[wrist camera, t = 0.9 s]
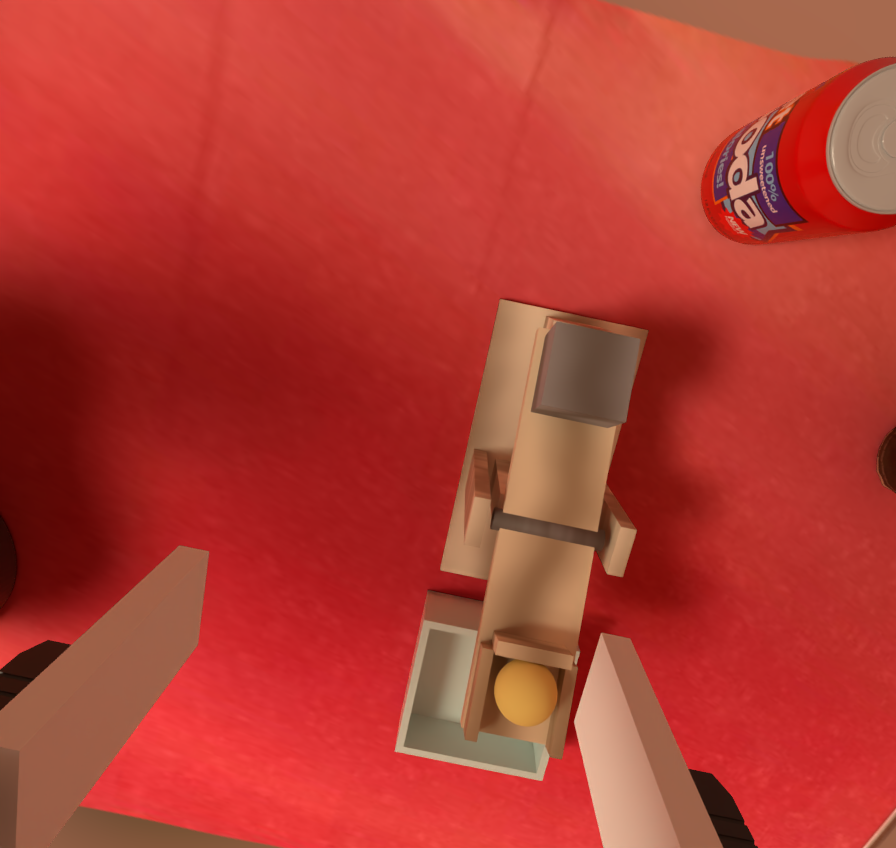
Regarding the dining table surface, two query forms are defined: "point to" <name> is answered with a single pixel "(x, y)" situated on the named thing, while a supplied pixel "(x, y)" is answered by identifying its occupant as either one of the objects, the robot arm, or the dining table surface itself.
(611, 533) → the catapult base
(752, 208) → the soda can
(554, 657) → the lever
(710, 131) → the dining table surface
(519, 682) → the ball
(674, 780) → the robot arm
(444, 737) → the shallow square tray
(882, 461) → the coffee cup
